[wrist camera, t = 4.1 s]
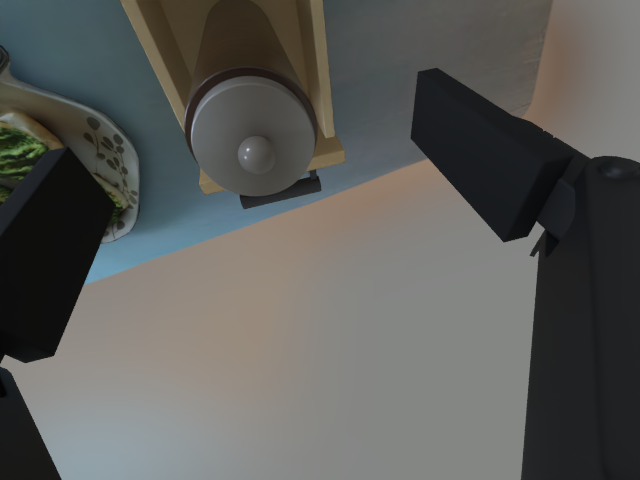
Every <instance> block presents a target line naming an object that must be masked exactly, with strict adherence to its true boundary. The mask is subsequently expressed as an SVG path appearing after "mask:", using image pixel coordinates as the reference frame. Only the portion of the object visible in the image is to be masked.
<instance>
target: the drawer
mask: <svg viewBox="0 0 640 480" xmlns="http://www.w3.org/2000/svg"><path fill="white" fill-rule="evenodd" d="M218 1H220V0H120V2H121V4H122V6H123V8H124V10H125V12H126V14H127V16H128V18H129V20H130V22H131V24H132V26H133V28H134V30H135V32H136V34H137V37H138V39H139V41H140V43H141V45H142V47H143V49H144V51H145V53H146V55H147V57H148V59H149V61H150V63H151V65H152V67H153V69H154V72H155V74H156V76H157V78H158V80H159V82H160V84H161V86H162V88H163V90H164V92H165V94H166V96H167V98H168V100H169V102H170V104H171V107H172V109H173V111H174V113H175V115H176V117H177V119H178V121H179V123H180V125H181V127H182V129H183V131H184V116H185V111H186V106H187V102H188V98H189V93H190V89H191V84H192V80H193V76H194V71H195V67H196V62H197V58H198V53H199V49H200V45H201V40H202V36H203V31H204V27H205V23H206V19H207V16H208V13H209V12H210V10H211V8H212V7H213V6H214V5H215V4H216V3H217V2H218ZM251 1H252V2H254V3H255V4H257V5H258V6H259V7H260V8H261V9H262V10H263V11H264V13H265V14H266V16H267V17H268V19H269V21H270V23H271V25H272V27H273V29H274V31H275V33H276V35H277V37H278V39H279V41H280V43H281V45H282V47H283V49H284V51H285V53H286V55H287V57H288V59H289V61H290V63H291V65H292V67H293V69H294V71H295V72H296V74H297V76H298V78H299V80H300V82H301V84H302V86H303V88H304V90H305V92H306V94H307V96H308V98H309V100H310V102H311V104H312V106H313V109H314V111H315V114H316V119H317V124H318V138H317V144H316V148H315V151H314V154H313V157H312V160H311V162H310V164H309V166H308V168H307V170H306V171H309V172H310V177H308V178H304V179H300V180H297V181H296V182H295V183H294V184H293V185H291V186H290V187H288V188H286V189H284V190H282V191H280V192H278V193H274V194H271V195H265V196H246V195H241V194H240V201H241V204H242V207H243V208H244V209H247V208H251V207H256V206H260V205H264V204H268V203H272V202H277V201H281V200H285V199H289V198H294V197H298V196H302V195H306V194H310V193H315V192H319V191H321V184H320V180H319V177H318V176H317V174H316V169H319V168H323V167H327V166H332V165H336V164H340V163H345V161H346V160H345V150H344V148H343V146H342V145H341V143H340V141H339V139H338V137H337V136H336V134H335V132H334V120H333V109H332V98H331V87H330V76H329V65H328V54H327V43H326V32H325V21H324V9H323V0H251ZM184 133H185V132H184ZM306 171H305V172H306ZM199 185H200V187H201V189H202V191H203V193H204V194H205V195H207V194H211V193H215V192H220V191H224V190H226V189H224V188H222V187H221V186H219V185H217V184H216V183H215V182H214V181H212V180H211V179H210V178H209V177H208V176H207V175H206V174H205V173H204V171H203V170H202V169H201V171H200V180H199Z"/></svg>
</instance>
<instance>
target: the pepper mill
mask: <svg viewBox="0 0 640 480" xmlns="http://www.w3.org/2000/svg"><path fill="white" fill-rule="evenodd" d="M184 132H185V138H186V142H187V145H188V147H189V150H190V152H191V154H192V155H193V157H194V159H195V160H196V162H197V163H198V164H199V166H200V167H201V169H202V170H203V171H204V173H205V174H206V175H207V176H208V177H209V178H210V179H211V180H212V181H214V182H215V183H216V184H217V185H219V186H221V187H222V188H224V189H226V190H228V191H231V192H234V193H236V194H241V195H246V196H265V195H271V194H274V193H278V192H280V191H282V190H284V189H286V188H288V187H290V186H291V185H293V184H294V183H295V182H296V181H297V180H299V179H300V177H301V176H302V175H303V174H304V173H305V171H306V170H307V168H308V166H309V164H310V162H311V160H312V157H313V154H314V151H315V148H316V144H317V138H318V124H317V119H316V114H315V111H314V109H313V106H312V104H311V102H310V100H309V98H308V96H307V94H306V92H305V90H304V88H303V86H302V84H301V82H300V80H299V78H298V76H297V74H296V72H295V71H294V69H293V67H292V65H291V63H290V61H289V59H288V57H287V55H286V53H285V51H284V49H283V47H282V45H281V43H280V41H279V39H278V37H277V35H276V33H275V31H274V29H273V27H272V25H271V23H270V21H269V19H268V17H267V16H266V14H265V13H264V11H263V10H262V9H261V8H260V7H259V6H258V5H257V4H255V3H254V2H252V1H251V0H220V1H218V2H217V3H216V4H215V5H214V6H213V7H212V8H211V10H210V12H209V13H208V16H207V19H206V23H205V27H204V31H203V36H202V40H201V45H200V49H199V53H198V58H197V62H196V67H195V71H194V76H193V80H192V84H191V89H190V93H189V98H188V102H187V106H186V111H185V116H184Z"/></svg>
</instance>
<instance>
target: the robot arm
mask: <svg viewBox="0 0 640 480" xmlns="http://www.w3.org/2000/svg"><path fill="white" fill-rule="evenodd" d="M411 139H412V140H413V142H414V143H415V144H416V145H417V146H418V147H419V148H420V149H421V150H422V152H423V153H424V154H425V155H426V156H427V157H428V158H429V159H430V160H431V162H432V163H433V164H434V165H435V166H436V167H437V168H438V169H439V171H440V172H441V173H442V174H443V175H444V176H445V177H446V178H447V180H448V181H449V182H450V183H451V184H452V185H453V186H454V187H455V188H456V190H457V191H458V192H459V193H460V194H461V195H462V196H463V197H464V198H465V200H466V201H467V202H468V203H469V204H470V205H471V206H472V207H473V208H474V210H475V211H476V212H477V213H478V214H479V215H480V216H481V218H482V219H483V220H484V221H485V222H486V223H487V224H488V225H489V226H490V227H491V229H492V230H493V231H494V232H495V233H496V234H497V235H498V237H500V239H501V240H502V241H503V242H507V241H511V240H515V239H519V238H523V237H527V236H528V235H529V233H530V231H531V230H532V228H533V226H534V225H535V223H536V221H537V222H538V223H539V224H540V225H541V226H543V227H544V228H545V230H544V232H543V234H542V235H541V237H540V238H539V240H538V242H537V243H536V245H535V247H534V248H533V250H532V252H531V254H530V256H533V257H534V256H535V254H536V253H537V252H538V251H539V260H538V272H537V284H536V297H535V310H534V322H533V335H532V348H531V361H530V374H529V386H528V399H527V411H526V424H525V436H524V449H523V462H522V475H521V480H640V163H639V162H636V161H633V160H631V159H626V158H621V157H616V156H615V157H614V156H601V157H594V158H592V159H590V158H589V157H587V156H585V155H584V154H582V153H580V152H579V151H577V150H576V149H574V148H572V147H571V146H569V145H568V144H566V143H564V142H562V141H561V140H559V139H558V138H556V137H555V138H553V135H551V134H550V133H548V132H546V131H543V129H542V128H540V127H538V126H537V125H535V124H533V123H532V122H530V121H527V120H524V119H521V118H518V117H515V116H512V115H510V114H509V113H507V112H506V111H504V110H502V109H501V108H499V107H498V106H496V105H495V104H493V103H491V102H490V101H488V100H487V99H485V98H484V97H482V96H480V95H479V94H477V93H476V92H474V91H473V90H471V89H470V88H468V87H466V86H465V85H463V84H462V83H460V82H459V81H457V80H455V79H454V78H452V77H451V76H449V75H448V74H446V73H444V72H443V71H441V70H440V69H438V68H433V69H429V70H424V71H419V72H418V76H417V85H416V94H415V103H414V112H413V121H412V130H411ZM115 208H116V204H115V202H114V201H113V200H112V199H111V198H110V196H109V195H108V194H107V193H106V191H105V190H104V189H103V188H102V187H101V185H100V184H99V183H98V182H97V180H96V179H95V178H94V177H93V176H92V174H91V173H90V172H89V171H88V169H87V168H86V167H85V166H84V165H83V163H82V162H81V161H80V160H79V158H78V157H77V156H76V155H75V154H74V152H73V151H72V150H71V149H70V147H69V146H68V147H64V148H59V149H54V150H50V151H46V153H45V154H44V155H43V156H42V157H41V159H40V160H39V161H38V162H37V163H36V165H35V166H34V167H33V168H32V169H31V170H30V172H29V173H28V174H27V175H26V176H25V178H24V179H23V180H22V181H21V182H20V184H19V185H18V186H17V187H16V188H15V190H14V191H13V192H12V193H11V194H10V195H9V197H8V198H7V199H6V200H5V201H4V203H3V204H2V205H1V206H0V363H1V361H2V359H3V357H4V355H8V356H10V357H12V358H14V359H17V360H19V361H21V362H24V363H28V362H32V361H35V360H40V359H44V358H48V357H52V356H54V355H55V352H56V350H57V347H58V345H59V342H60V340H61V337H62V335H63V333H64V330H65V328H66V326H67V323H68V321H69V318H70V316H71V314H72V311H73V309H74V306H75V304H76V302H77V299H78V296H79V294H80V292H81V290H82V287H83V285H84V282H85V280H86V277H87V275H88V273H89V270H90V268H91V265H92V263H93V261H94V258H95V256H96V253H97V251H98V249H99V246H100V244H101V241H102V239H103V236H104V234H105V232H106V229H107V227H108V224H109V222H110V220H111V217H112V215H113V212H114V210H115ZM0 480H61V477H60V475H59V473H58V471H57V469H56V467H55V465H54V463H53V461H52V458H51V456H50V454H49V452H48V450H47V448H46V446H45V444H44V442H43V439H42V437H41V435H40V433H39V431H38V429H37V427H36V425H35V423H34V420H33V418H32V416H31V414H30V412H29V410H28V408H27V406H26V404H25V401H24V399H23V397H22V395H21V393H20V391H19V389H18V387H17V385H16V382H15V380H14V378H13V376H12V374H11V373H10V372H9V371H8V370H7V369H5V368H2V367H0Z"/></svg>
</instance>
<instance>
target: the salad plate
mask: <svg viewBox="0 0 640 480" xmlns="http://www.w3.org/2000/svg"><path fill="white" fill-rule="evenodd" d="M10 64H11V59H10V55H9V53H8V52H7V51H6V50H5V49H4V48H3V47H2V46H1V45H0V206H1V205H2V204H3V203H4V201H5V200H6V199H7V198H8V197H9V195H10V194H11V193H12V192H13V191H14V190H15V188H16V187H17V186H18V185H19V184H20V182H21V181H22V180H23V179H24V178H25V176H26V175H27V174H28V173H29V172H30V170H31V169H32V168H33V167H34V166H35V165H36V163H37V162H38V161H39V160H40V159H41V157H42V156H43V155H44V154H45V153H46V151H50V150H54V149H59V148H64V147H68V146H69V147H70V149H71V150H72V151H73V152H74V154H75V155H76V156H77V157H78V158H79V160H80V161H81V162H82V163H83V165H84V166H85V167H86V168H87V169H88V171H89V172H90V173H91V174H92V176H93V177H94V178H95V179H96V180H97V182H98V183H99V184H100V185H101V187H102V188H103V189H104V190H105V191H106V193H107V194H108V195H109V196H110V198H111V199H112V200H113V201H114V202H115V204H116V208H115V210H114V212H113V215H112V217H111V220H110V222H109V224H108V227H107V229H106V232H105V234H104V236H103V239H102V241H101V244H103V243H109V242H112V241H115V240H117V239H119V238H121V237H123V236H124V235H126V234H128V233H129V232H130V231H131V230H132V229H133V227H134V225H135V223H136V221H137V219H138V215H139V210H140V204H139V188H140V186H139V185H140V169H139V157H138V154H137V152H136V150H135V148H134V146H133V145H132V143H131V141H130V139H129V138H128V137H127V135H126V134H125V133H124V132H123V131H122V130H121V129H120V128H119V127H118V126H117V125H116V124H115V123H114V122H113V121H112V120H111V119H110V118H109V117H108V116H107V115H106V114H104V113H102V112H100V111H98V110H96V109H94V108H92V107H89V106H87V105H85V104H83V103H80V102H78V101H75V100H73V99H70V98H68V97H65V96H62V95H60V94H57V93H54V92H50V91H47V90H43V89H40V88H37V87H35V86H32V85H30V84H27V83H24V82H22V81H20V80H19V79H17V78H15V77H14V76H12V75H11V73H10V68H9V66H10Z"/></svg>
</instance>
